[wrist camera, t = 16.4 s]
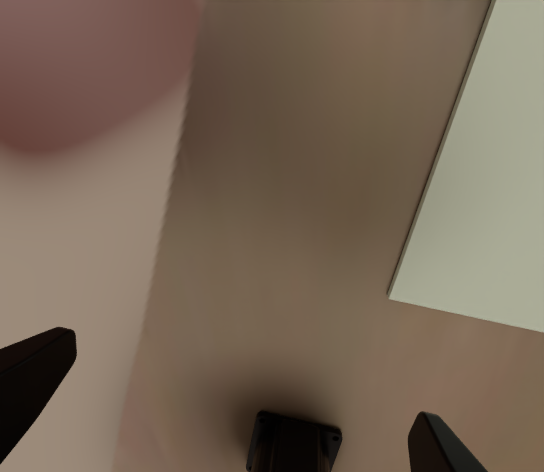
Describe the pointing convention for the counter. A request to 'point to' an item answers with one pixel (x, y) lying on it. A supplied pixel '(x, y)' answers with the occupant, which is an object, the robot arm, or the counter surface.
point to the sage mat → (487, 184)
